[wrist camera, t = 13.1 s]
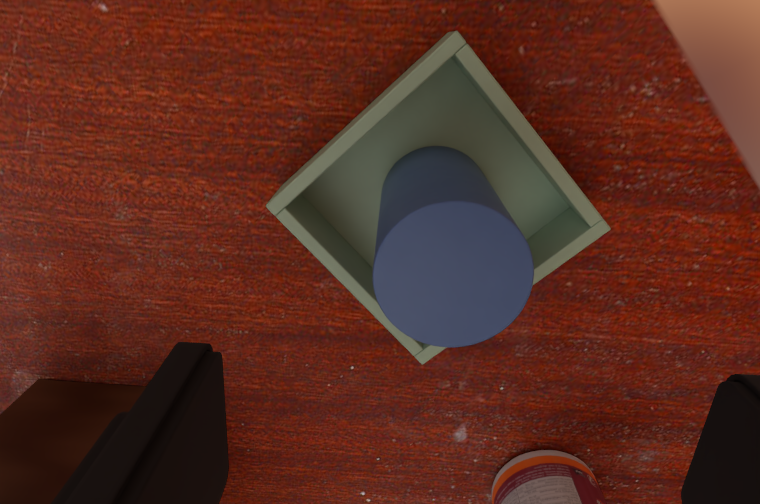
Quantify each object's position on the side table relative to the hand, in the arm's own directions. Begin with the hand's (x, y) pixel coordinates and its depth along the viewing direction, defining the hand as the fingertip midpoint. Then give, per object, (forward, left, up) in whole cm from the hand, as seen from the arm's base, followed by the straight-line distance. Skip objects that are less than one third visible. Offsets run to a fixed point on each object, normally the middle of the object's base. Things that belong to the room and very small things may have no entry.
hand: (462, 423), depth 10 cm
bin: (0, 0, -16) cm, 16 cm away
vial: (0, 0, -16) cm, 16 cm away
